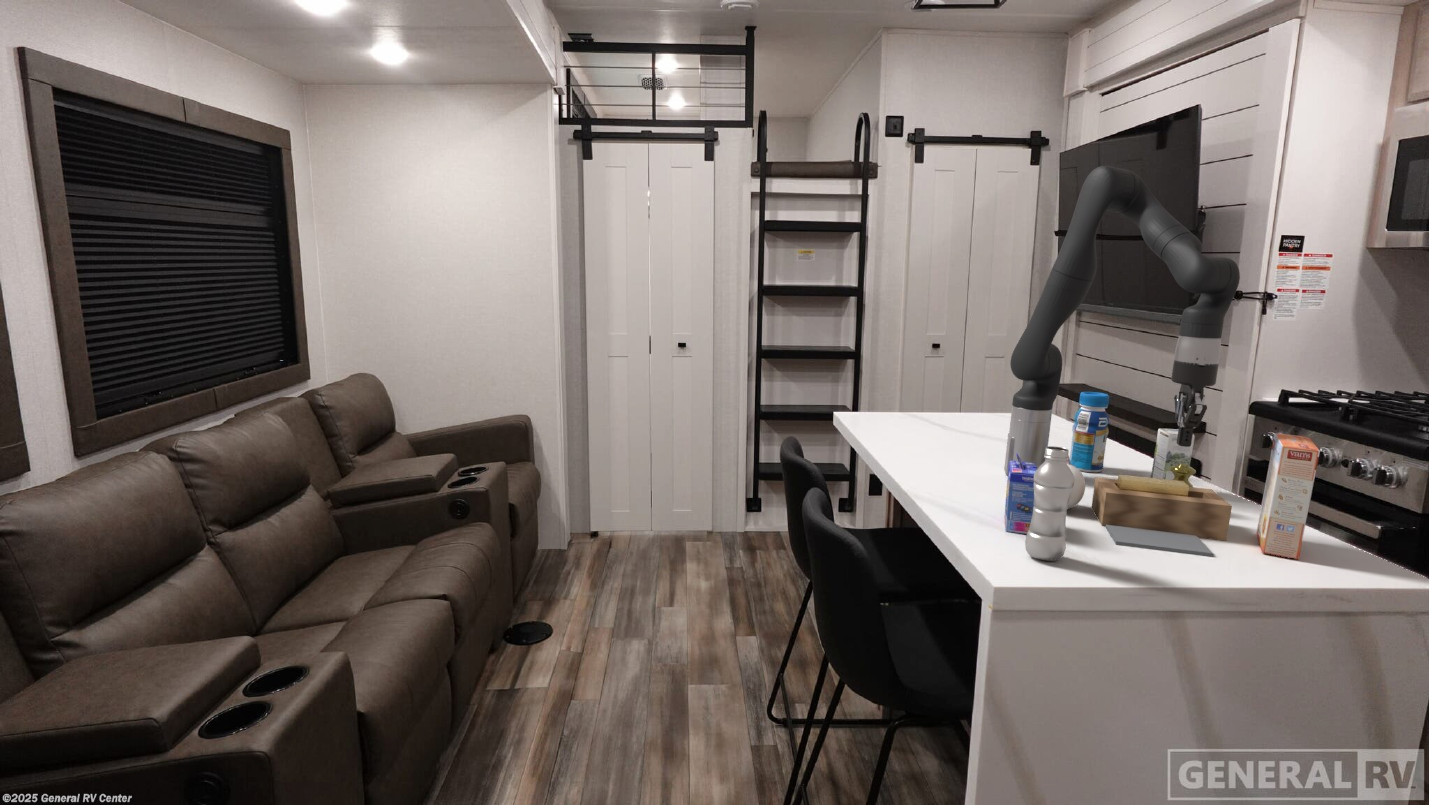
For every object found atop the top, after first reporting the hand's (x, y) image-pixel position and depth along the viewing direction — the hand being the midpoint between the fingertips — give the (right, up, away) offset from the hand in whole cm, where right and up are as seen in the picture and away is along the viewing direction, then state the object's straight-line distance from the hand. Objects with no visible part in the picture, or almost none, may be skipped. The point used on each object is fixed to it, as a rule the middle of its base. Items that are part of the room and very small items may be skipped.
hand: (1183, 445), depth 152 cm
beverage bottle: (+3, -9, +46) cm, 47 cm away
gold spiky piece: (+8, -15, +15) cm, 22 cm away
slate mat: (-9, -18, -7) cm, 21 cm away
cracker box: (+13, -19, -7) cm, 25 cm away
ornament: (-20, -14, +12) cm, 28 cm away
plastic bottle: (-36, -19, -18) cm, 44 cm away
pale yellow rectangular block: (-5, -13, +4) cm, 15 cm away
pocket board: (-3, -16, +4) cm, 17 cm away
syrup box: (+14, -12, +29) cm, 35 cm away
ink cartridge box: (-34, -16, -1) cm, 37 cm away
